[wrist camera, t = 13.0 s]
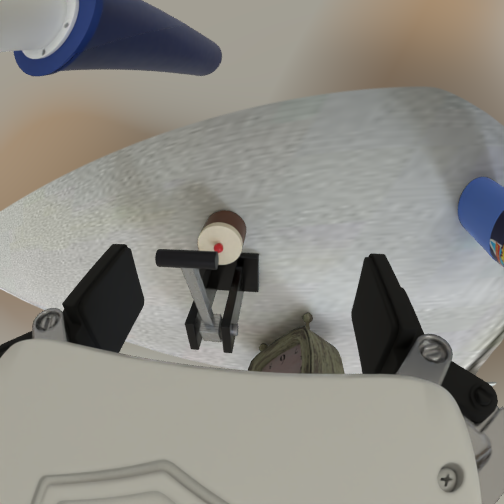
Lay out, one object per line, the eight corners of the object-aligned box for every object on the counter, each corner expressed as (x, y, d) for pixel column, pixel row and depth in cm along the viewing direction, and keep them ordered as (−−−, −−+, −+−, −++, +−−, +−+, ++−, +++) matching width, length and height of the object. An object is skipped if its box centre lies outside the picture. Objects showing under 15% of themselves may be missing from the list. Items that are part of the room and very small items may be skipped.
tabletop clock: (308, 302, 45) (314, 455, 24) (343, 328, 48) (361, 466, 27) (249, 344, 52) (230, 474, 31) (285, 365, 54) (279, 486, 33)
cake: (204, 210, 39) (192, 229, 34) (245, 210, 38) (239, 230, 34) (207, 246, 42) (197, 268, 37) (246, 247, 41) (241, 271, 36)
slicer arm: (160, 241, 24) (151, 264, 22) (218, 243, 23) (213, 267, 22) (195, 322, 35) (192, 339, 34) (235, 325, 35) (233, 343, 33)
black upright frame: (196, 251, 42) (166, 316, 31) (258, 253, 42) (248, 323, 30) (201, 284, 46) (176, 351, 34) (258, 287, 45) (249, 358, 33)
